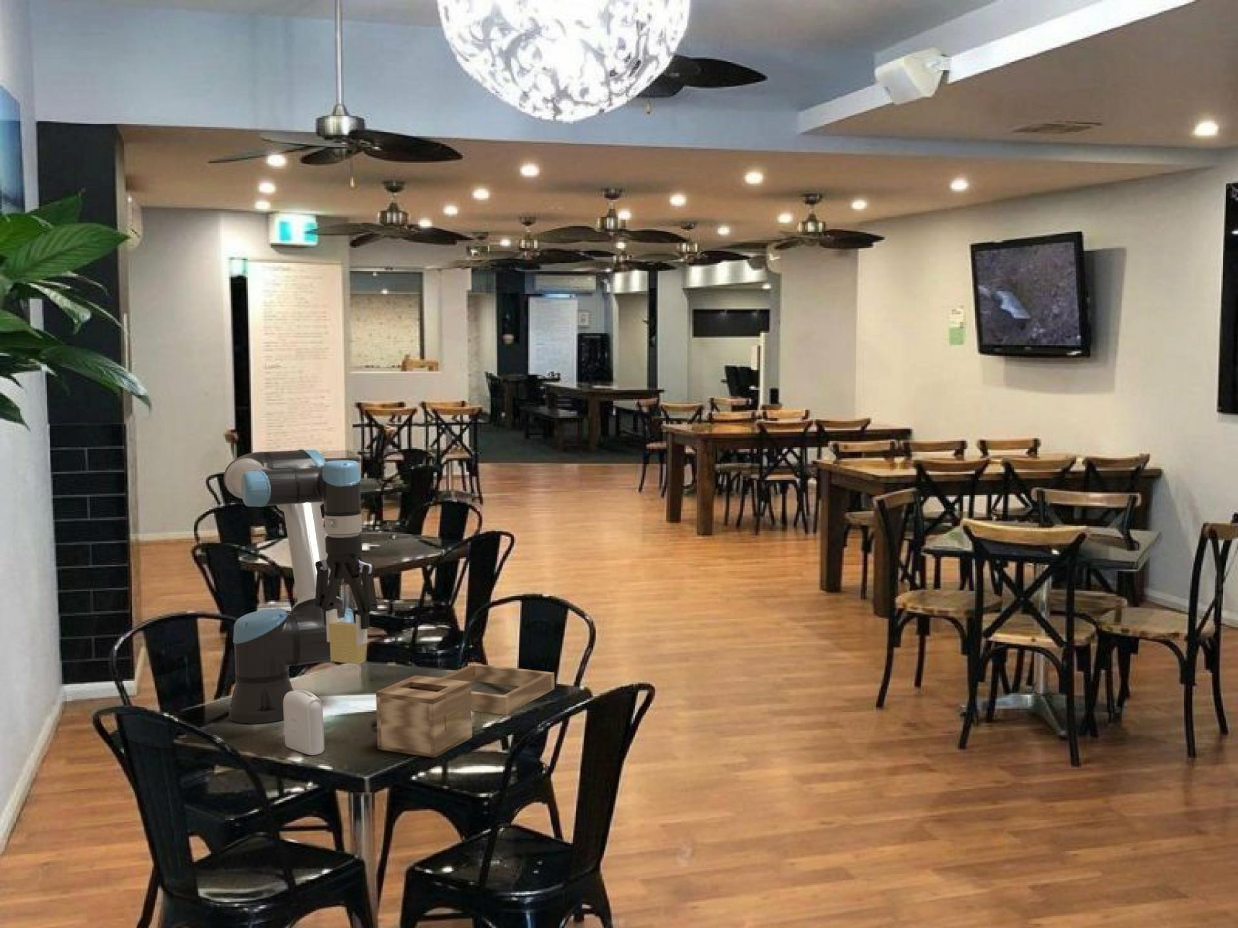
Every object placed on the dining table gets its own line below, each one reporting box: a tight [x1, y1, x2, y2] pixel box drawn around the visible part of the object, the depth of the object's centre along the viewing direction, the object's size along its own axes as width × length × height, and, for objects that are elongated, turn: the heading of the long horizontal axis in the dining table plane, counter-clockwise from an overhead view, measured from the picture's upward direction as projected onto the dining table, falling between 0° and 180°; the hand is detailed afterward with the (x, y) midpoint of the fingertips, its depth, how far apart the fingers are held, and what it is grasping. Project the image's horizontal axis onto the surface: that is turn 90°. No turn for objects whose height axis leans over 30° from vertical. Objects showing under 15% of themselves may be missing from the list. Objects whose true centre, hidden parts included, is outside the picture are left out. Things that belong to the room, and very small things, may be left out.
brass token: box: [329, 621, 366, 665], centre depth 252 cm, size 7×2×8 cm, turn 65°
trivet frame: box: [441, 663, 555, 716], centre depth 283 cm, size 23×23×4 cm
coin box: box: [375, 674, 473, 759], centre depth 248 cm, size 14×14×12 cm
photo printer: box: [283, 689, 325, 756], centre depth 245 cm, size 10×4×12 cm, turn 47°
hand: (347, 641), depth 252 cm, fingers closed on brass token, 7 cm apart
